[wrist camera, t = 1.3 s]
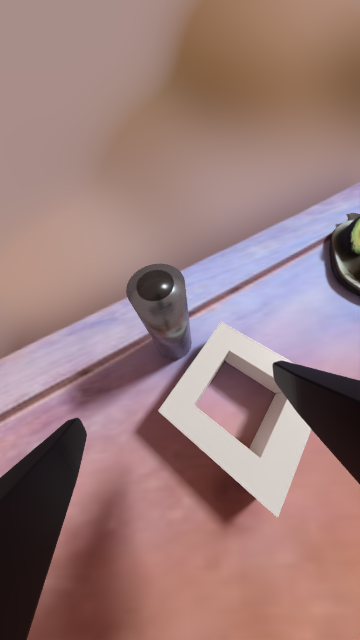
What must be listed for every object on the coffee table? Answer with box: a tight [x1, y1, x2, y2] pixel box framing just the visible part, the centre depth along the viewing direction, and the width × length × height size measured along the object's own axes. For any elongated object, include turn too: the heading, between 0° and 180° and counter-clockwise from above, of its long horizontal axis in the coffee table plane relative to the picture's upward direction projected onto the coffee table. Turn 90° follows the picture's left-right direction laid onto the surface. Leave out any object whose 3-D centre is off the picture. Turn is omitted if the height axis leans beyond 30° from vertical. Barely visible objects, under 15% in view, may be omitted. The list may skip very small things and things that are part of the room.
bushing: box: [127, 264, 191, 359], centre depth 18 cm, size 4×4×12 cm
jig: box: [158, 322, 311, 518], centre depth 18 cm, size 11×11×4 cm
